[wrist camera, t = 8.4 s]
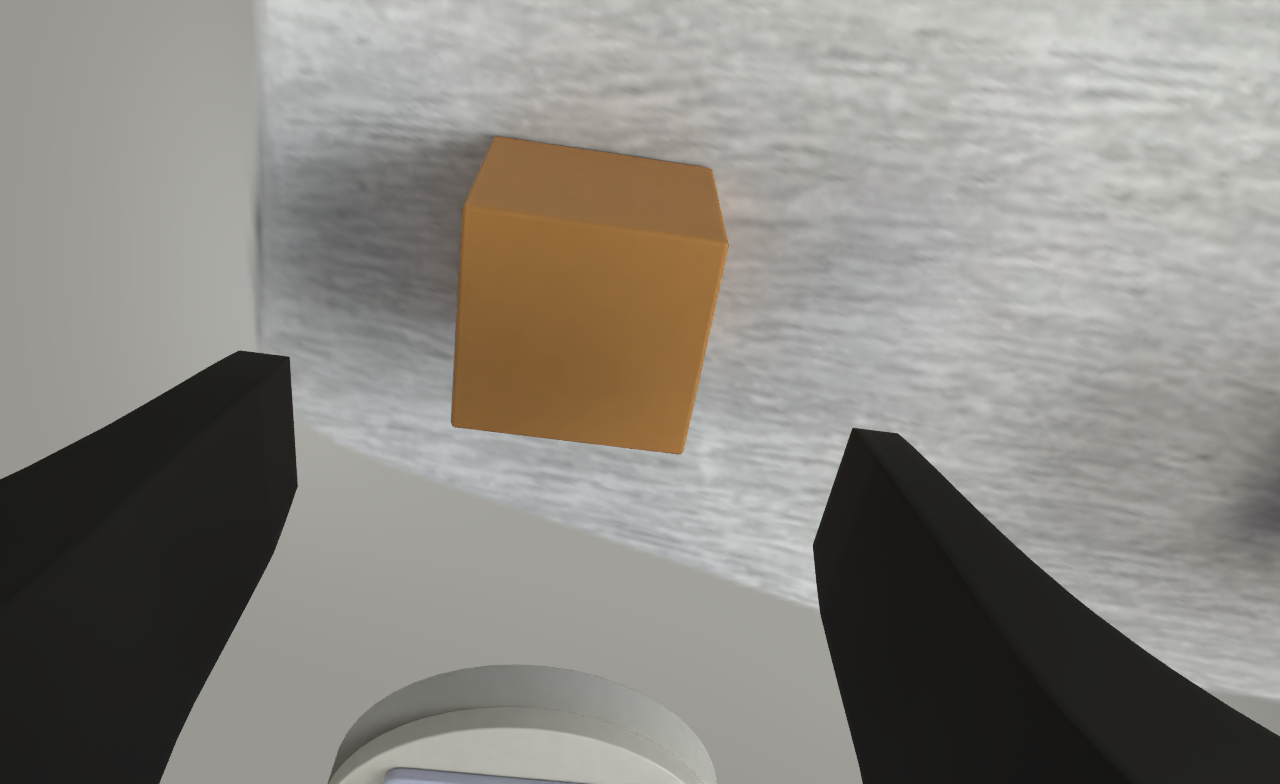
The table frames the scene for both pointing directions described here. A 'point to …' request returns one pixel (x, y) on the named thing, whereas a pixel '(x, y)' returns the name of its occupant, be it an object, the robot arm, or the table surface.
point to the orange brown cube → (585, 295)
